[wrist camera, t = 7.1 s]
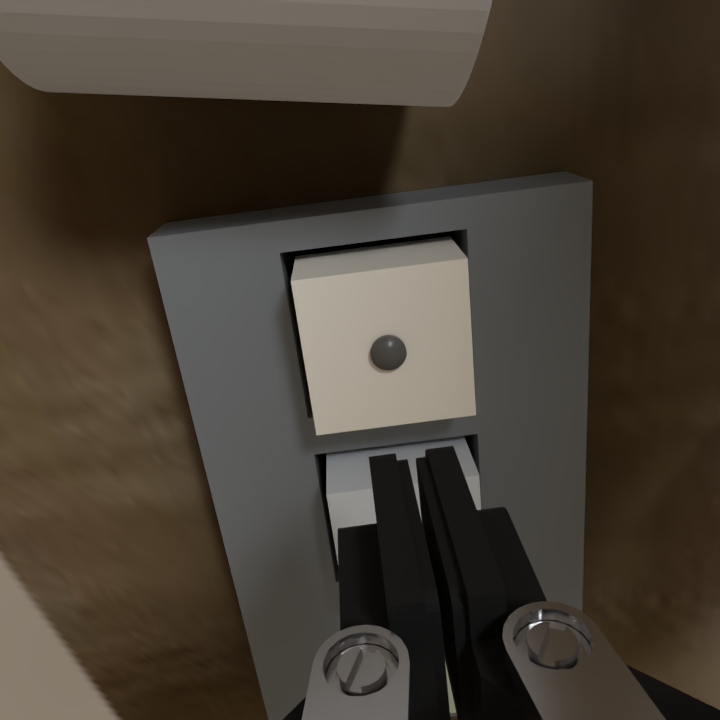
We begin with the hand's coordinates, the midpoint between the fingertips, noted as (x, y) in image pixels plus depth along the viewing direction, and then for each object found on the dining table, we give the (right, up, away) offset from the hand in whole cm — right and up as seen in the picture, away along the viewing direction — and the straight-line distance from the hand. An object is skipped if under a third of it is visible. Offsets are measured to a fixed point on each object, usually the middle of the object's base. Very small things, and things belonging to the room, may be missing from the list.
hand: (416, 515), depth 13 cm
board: (0, -2, +14) cm, 14 cm away
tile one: (0, +4, +10) cm, 11 cm away
